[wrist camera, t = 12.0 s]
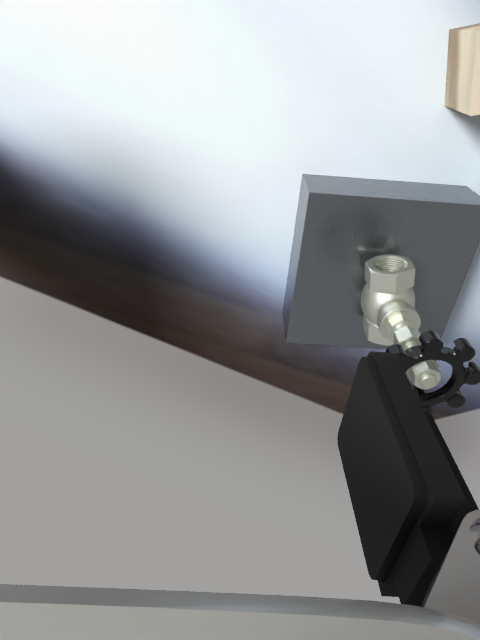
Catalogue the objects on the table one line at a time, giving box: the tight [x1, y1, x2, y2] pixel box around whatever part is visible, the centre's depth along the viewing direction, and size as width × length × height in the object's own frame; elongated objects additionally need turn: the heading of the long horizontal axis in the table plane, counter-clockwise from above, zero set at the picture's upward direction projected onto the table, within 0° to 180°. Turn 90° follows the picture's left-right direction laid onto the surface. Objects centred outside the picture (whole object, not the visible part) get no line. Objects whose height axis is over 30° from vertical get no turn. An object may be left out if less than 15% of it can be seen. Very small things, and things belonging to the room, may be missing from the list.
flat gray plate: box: [283, 174, 480, 349], centre depth 39 cm, size 14×14×5 cm
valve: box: [361, 254, 480, 415], centre depth 32 cm, size 7×7×12 cm
